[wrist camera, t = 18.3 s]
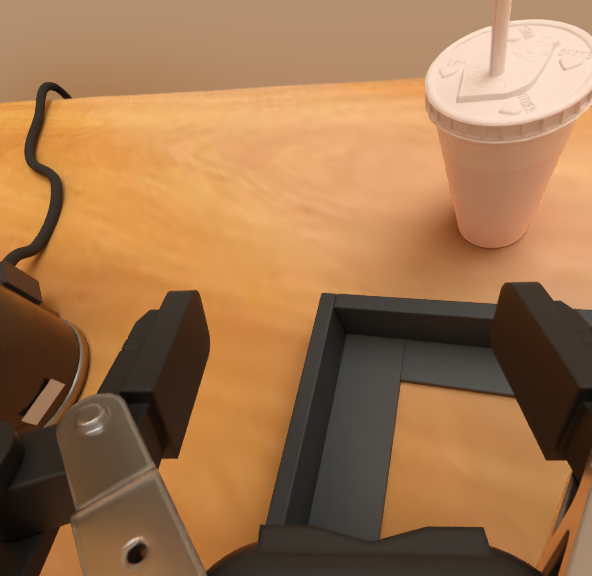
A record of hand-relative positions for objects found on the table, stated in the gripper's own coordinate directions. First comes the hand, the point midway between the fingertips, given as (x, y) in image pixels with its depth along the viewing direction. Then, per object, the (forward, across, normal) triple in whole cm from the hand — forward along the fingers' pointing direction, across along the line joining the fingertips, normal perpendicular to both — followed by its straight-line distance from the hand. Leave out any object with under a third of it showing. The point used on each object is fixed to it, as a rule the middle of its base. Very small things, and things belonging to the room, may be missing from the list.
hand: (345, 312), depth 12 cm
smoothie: (+14, -9, +4) cm, 17 cm away
